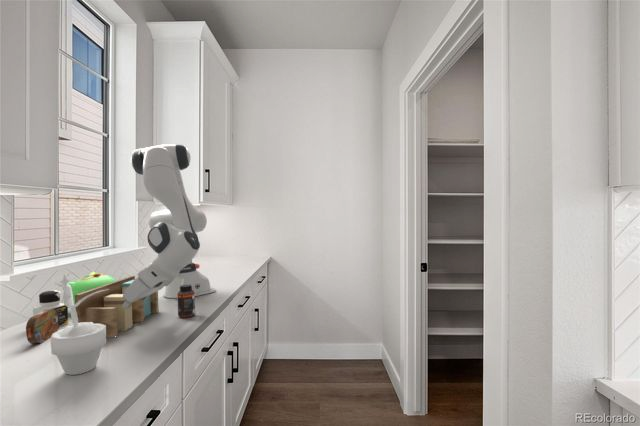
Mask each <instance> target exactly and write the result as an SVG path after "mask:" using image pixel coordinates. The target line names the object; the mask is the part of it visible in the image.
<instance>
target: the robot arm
mask: <svg viewBox="0 0 640 426" xmlns="http://www.w3.org/2000/svg"><path fill="white" fill-rule="evenodd" d="M190 163H191V154H190V151H189V149H188V148H187V146H186V145H184V144H181V143H175V144H159V145H154V146H149V147H144V148H142V147H141V148H138V149H135V150H133V151H132V153H131V157H130V164H131V166H132V168H133V170H134V172H135V173H136V174H139V175H142V178H143V184H144V187H145V189H146V191H147V193H148V194H149V195H150V196H151V197H153V198H154V199H156V200H157V201H159V202H160V203H161V204H162V205H163V206H164V207H166V208H167V209H163V210H158V211H154V212H152V213H151V215H150V216H149V219H148V226H149V228H150V229H149V231H148V234H147V243H148V246H149V247H150V248H151V249H152V250H153V251H154V252H155V253H156V254H157V257H155V259H154V260H152V262H150V264H149V265H148V266H146V267H144V268H143V269H142V270H140V271H139V272H138V273H137V274H136V275H137V277H136V278H135V280H134V281H133V282H132V283H131V284H130V286H129V287H128V288H127V289H126V291H125V292H124V294H123V298H124V299H125V302H124V303H123V304H122V306H123V307H124V308H125V309H126V308H128V307H130V306H131V303H133V302H135V301H137V300H139V299H140V300H141V301H143V300H145V299H146V298H147V297H148V296H149V295H151V294H152V293H154V292H157V291H158V292H159V291H161V290H162V289H163V288H164V294H163V297H164V298H168V299H177V294H178V292H179V291H180V286H181V285H185V284H190V285H191V287H192V288H191V289H192V290H193V291H194V295H195V297H197V296H203V295H207V294H208V295H209V294H212V293H215V292H216V288H215V287H214V286H211V283H210V280H209V278H208V277H207V276H206V275H204V274H203V273H201V272H200V271H199V270H197V269H200V264H199V263H194V262H193V259H194V258H195V257H196V256H197V254H198V252H199V250H200V247H201V244H200V243H201V242H200V240H199V236H198V235H197V233H199V232H203V231H204V229H205V228H206V226H207V221H208V220H207V219H208V218H207V217H206V215H205V213H204V211H203V210H200V209H199V208H197V207H196V206H195V205H194V204H193V203H192V202H191V201H190V199H189V198H188V196H187V193H186V189H185V186H184V181H183V176H182V174H181V171H184V170H186V169H187V168H188V167H189V166H190Z"/></svg>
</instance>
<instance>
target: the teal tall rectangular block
mask: <svg viewBox="0 0 640 426" xmlns="http://www.w3.org/2000/svg"><path fill="white" fill-rule="evenodd" d="M133 281H134V280H131V281H128V282H125V283H123V284H122V294H124V292H125V291H126V289H127V288H128V287H129V286H130V284H131V283H132V282H133ZM143 305H144V318H146V317H147V316H149V315H151V314H152V313H151V305H150V295H149V296H148V297H147V298H146V299H145V300H143Z"/></svg>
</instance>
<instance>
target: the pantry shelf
mask: <svg viewBox="0 0 640 426" xmlns="http://www.w3.org/2000/svg"><path fill="white" fill-rule="evenodd" d="M135 277H136V276H135V275H129V276H126V277H123V278H121V279H117V280H116V281H114V282H111V283H108V284H105V285H103V286H100V287H97V288H94V289H91V290H88V291H85V292H82V293H79V294H76V295H75V304H76V303H77V302H78V301H79V300H81V299H82V298H84V297H85V296H87V295H90V294H92V293H94V292H97V291H100V290H106V289H109V290H106V291H102V292H99V293H96V294H94V295H92V296H89V297H87V298H86V299H85V300H83V301H82V302H81V303H80V304H79V305H78V306H77V307H76V313H77V317H78V323H81V322H93V324H103V325H106V337H115V336H116V337H118V336H119V335H118V333H119V332H118V330H117V307H104V297H106V296H108V295H111V294H122V284H123V283H125V282H128V281H131V280H135V279H136V278H135ZM150 305H151V314H157V313H159V291H157V292H154V293H152V294H151V295H150ZM144 321H145V317H144V305H143V301H141V300H140V299H139V300H137V301H135V302H133V303H132V323H133V322H139V323H140V322H141V323H142V322H144ZM117 335H118V336H117ZM116 337H115V338H116Z"/></svg>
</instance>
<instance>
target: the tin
mask: <svg viewBox="0 0 640 426" xmlns="http://www.w3.org/2000/svg"><path fill="white" fill-rule="evenodd" d="M59 323H60V318H59V314H58V311H57V310H56V309H54V308H52V309H47V310H43V311H42V312H40V313H38V314H36V315H34V316H33V315H32V316H30V318H29V319H28V320H27V322H26V326H25V331H26V332H25V333H26V338H27V341H28V343H29V344H33V345H34V344H43V343H45V342H46V341H47V340H48V339H51V336H52V334H53V333H55V332H57V331H59V327H60V326H59Z"/></svg>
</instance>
